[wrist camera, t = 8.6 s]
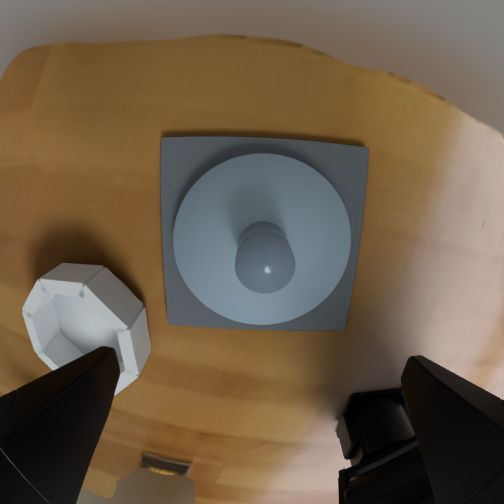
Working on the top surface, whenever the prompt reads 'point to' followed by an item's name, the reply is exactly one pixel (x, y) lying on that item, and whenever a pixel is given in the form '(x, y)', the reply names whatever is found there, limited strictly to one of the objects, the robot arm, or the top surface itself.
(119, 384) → the bowl
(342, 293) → the plate
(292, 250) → the lid
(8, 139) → the top surface
